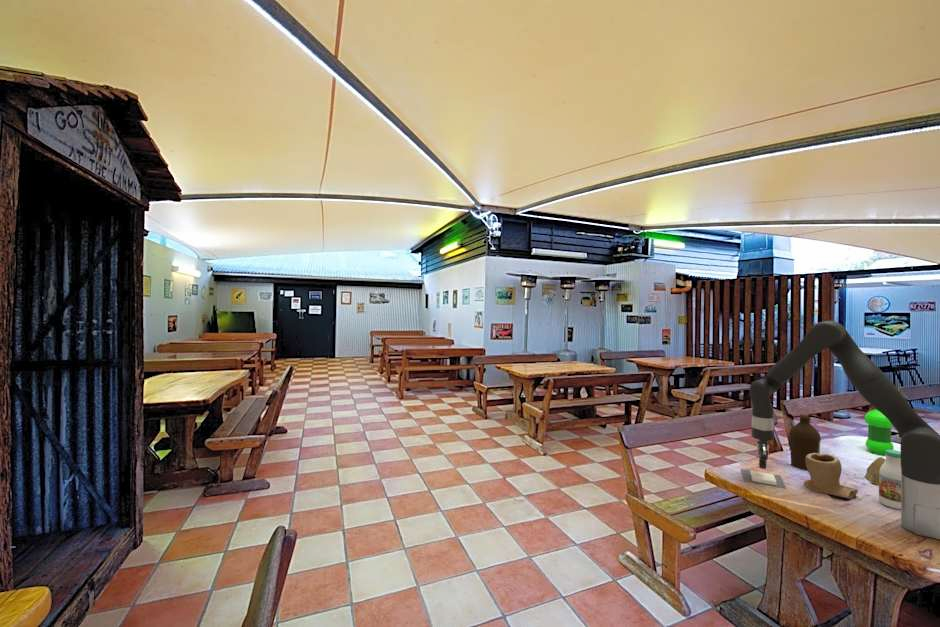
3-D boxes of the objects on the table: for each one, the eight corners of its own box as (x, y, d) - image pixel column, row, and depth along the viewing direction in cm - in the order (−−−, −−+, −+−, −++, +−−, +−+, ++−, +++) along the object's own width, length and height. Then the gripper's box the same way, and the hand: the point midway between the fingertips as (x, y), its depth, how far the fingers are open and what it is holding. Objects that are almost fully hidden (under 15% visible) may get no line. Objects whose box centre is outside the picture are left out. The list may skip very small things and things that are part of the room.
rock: (887, 483, 153) (901, 476, 156) (869, 462, 158) (883, 455, 161) (860, 489, 162) (874, 482, 165) (844, 469, 166) (857, 463, 169)
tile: (773, 478, 161) (776, 486, 154) (750, 474, 165) (752, 481, 158) (773, 474, 161) (776, 482, 154) (750, 470, 165) (752, 477, 158)
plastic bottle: (858, 449, 195) (858, 400, 195) (877, 448, 196) (878, 400, 195) (880, 457, 185) (881, 406, 185) (901, 456, 186) (901, 405, 185)
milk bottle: (877, 497, 147) (877, 446, 146) (907, 504, 142) (907, 450, 141) (881, 506, 141) (881, 452, 140) (912, 513, 136) (912, 457, 135)
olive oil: (794, 472, 170) (794, 416, 169) (785, 463, 180) (785, 410, 179) (825, 475, 166) (825, 418, 165) (814, 466, 175) (814, 412, 175)
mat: (786, 492, 152) (786, 489, 152) (743, 483, 159) (743, 481, 159) (780, 478, 164) (780, 475, 164) (740, 471, 171) (740, 468, 171)
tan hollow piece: (800, 491, 153) (800, 453, 152) (806, 482, 160) (806, 446, 160) (853, 506, 141) (854, 465, 141) (858, 495, 148) (858, 457, 148)
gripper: (749, 421, 168) (749, 460, 168) (753, 430, 157) (753, 471, 157) (771, 424, 164) (771, 464, 164) (776, 432, 153) (776, 475, 153)
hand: (762, 467), depth 160 cm, fingers closed
